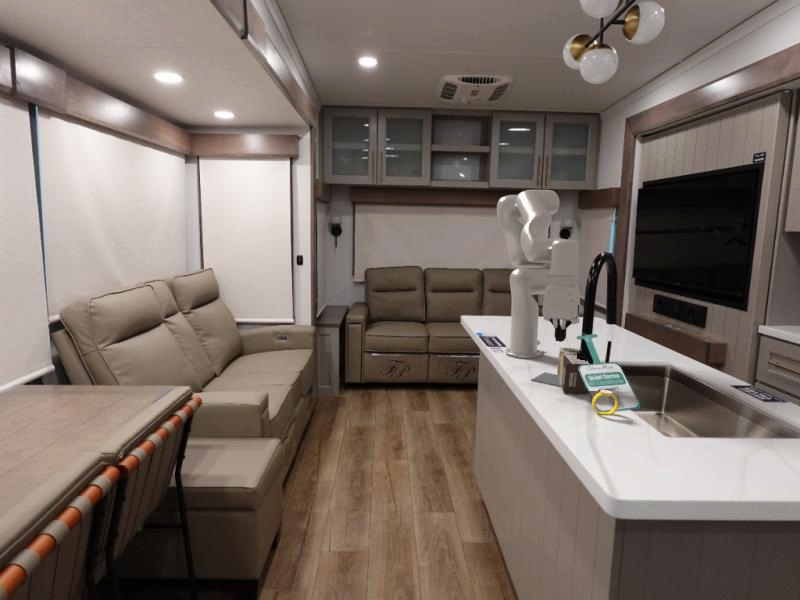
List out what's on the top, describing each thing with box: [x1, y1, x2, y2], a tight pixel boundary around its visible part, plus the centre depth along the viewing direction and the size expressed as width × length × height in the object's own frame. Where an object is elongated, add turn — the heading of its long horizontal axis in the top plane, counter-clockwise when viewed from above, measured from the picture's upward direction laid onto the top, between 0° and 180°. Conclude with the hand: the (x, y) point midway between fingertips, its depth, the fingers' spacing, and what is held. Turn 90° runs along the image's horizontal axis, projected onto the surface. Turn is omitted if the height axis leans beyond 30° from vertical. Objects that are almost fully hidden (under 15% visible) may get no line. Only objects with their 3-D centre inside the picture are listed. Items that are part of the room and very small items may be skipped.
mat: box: [530, 372, 562, 388], centre depth 150 cm, size 10×10×1 cm
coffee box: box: [556, 347, 590, 396], centre depth 144 cm, size 9×6×16 cm
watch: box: [591, 389, 619, 416], centre depth 123 cm, size 6×3×6 cm, turn 87°
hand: (560, 340), depth 151 cm, fingers closed
